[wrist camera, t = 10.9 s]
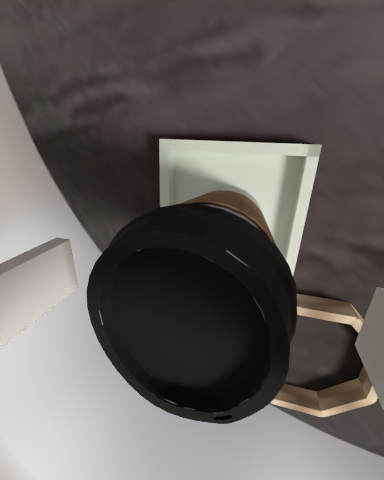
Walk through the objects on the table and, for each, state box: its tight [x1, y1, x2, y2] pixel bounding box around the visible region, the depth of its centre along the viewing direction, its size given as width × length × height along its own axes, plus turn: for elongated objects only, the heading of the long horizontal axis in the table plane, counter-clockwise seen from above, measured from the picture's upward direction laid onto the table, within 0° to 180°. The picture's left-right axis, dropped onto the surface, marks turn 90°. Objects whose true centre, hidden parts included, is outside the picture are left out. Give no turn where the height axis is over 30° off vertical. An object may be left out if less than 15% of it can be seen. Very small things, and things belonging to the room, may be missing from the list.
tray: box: [159, 139, 322, 275], centre depth 21 cm, size 13×12×2 cm
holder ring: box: [271, 294, 378, 417], centre depth 24 cm, size 13×13×2 cm
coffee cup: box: [87, 187, 297, 424], centre depth 15 cm, size 8×8×15 cm
